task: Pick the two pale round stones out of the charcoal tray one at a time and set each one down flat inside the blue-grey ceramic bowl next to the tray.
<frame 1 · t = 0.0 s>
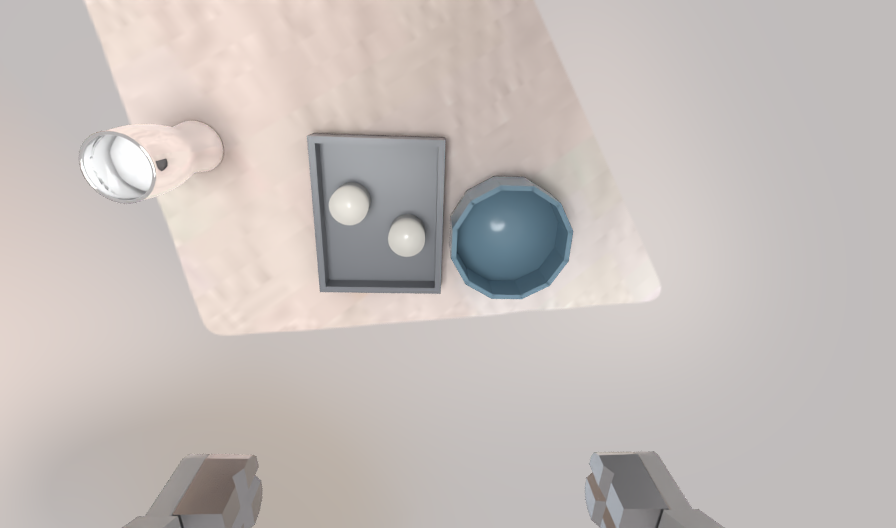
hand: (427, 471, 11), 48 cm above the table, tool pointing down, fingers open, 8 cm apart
stone b: (407, 231, 58), point 1 cm above the table, touching tray
tray: (381, 214, 57), on the table
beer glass: (198, 146, 54), on the table
stone a: (352, 200, 56), point 1 cm above the table, touching tray
bowl: (504, 231, 59), on the table
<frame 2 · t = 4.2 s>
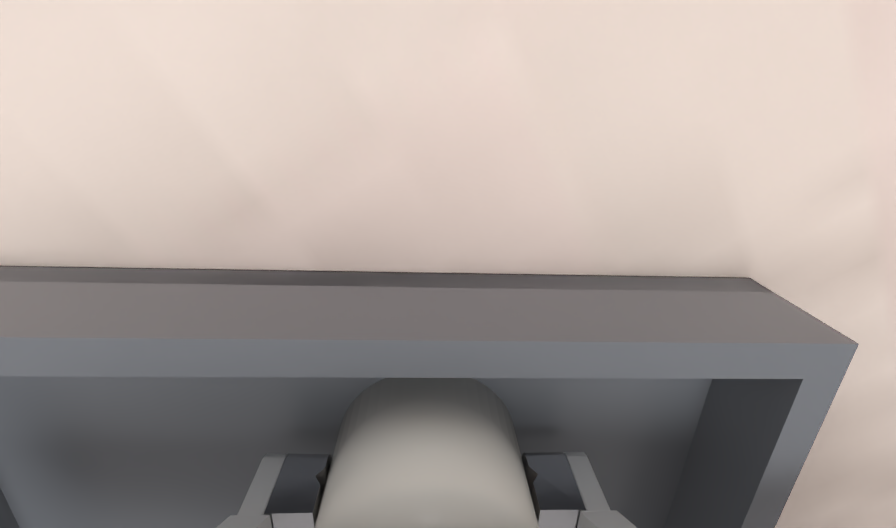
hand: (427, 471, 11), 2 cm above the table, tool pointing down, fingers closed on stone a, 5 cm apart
tray: (360, 509, 13), on the table
stone a: (427, 441, 12), point 1 cm above the table, touching gripper, tray
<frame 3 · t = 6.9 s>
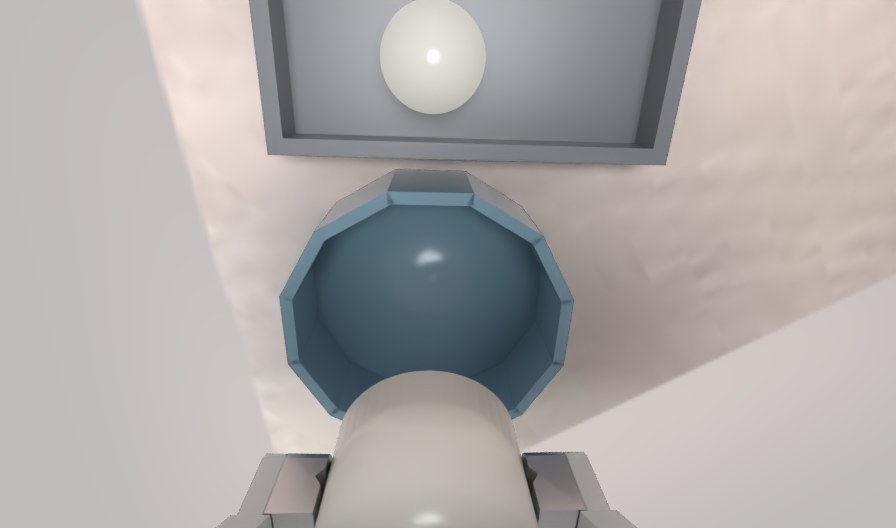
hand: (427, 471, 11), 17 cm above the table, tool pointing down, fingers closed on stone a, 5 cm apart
stone b: (432, 61, 22), point 1 cm above the table, touching tray
stone a: (427, 443, 12), point 16 cm above the table, touching gripper
bowl: (428, 287, 28), on the table
when the fingers open (4 cm above the table, at t = 9.9 s): stone a drops 2 cm, resting on bowl.
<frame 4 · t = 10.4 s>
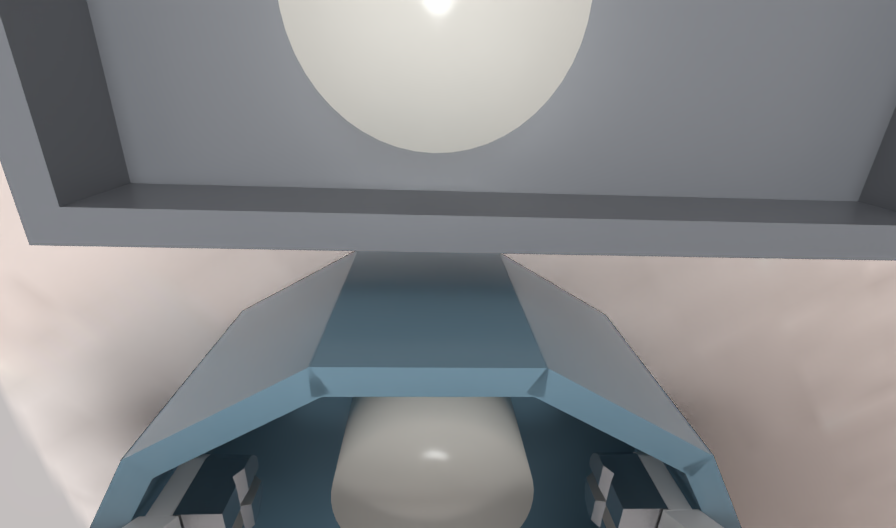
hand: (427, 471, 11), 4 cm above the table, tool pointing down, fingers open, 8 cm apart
stone b: (434, 22, 9), point 1 cm above the table, touching tray
stone a: (431, 400, 13), point 1 cm above the table, touching bowl
bowl: (425, 450, 15), on the table
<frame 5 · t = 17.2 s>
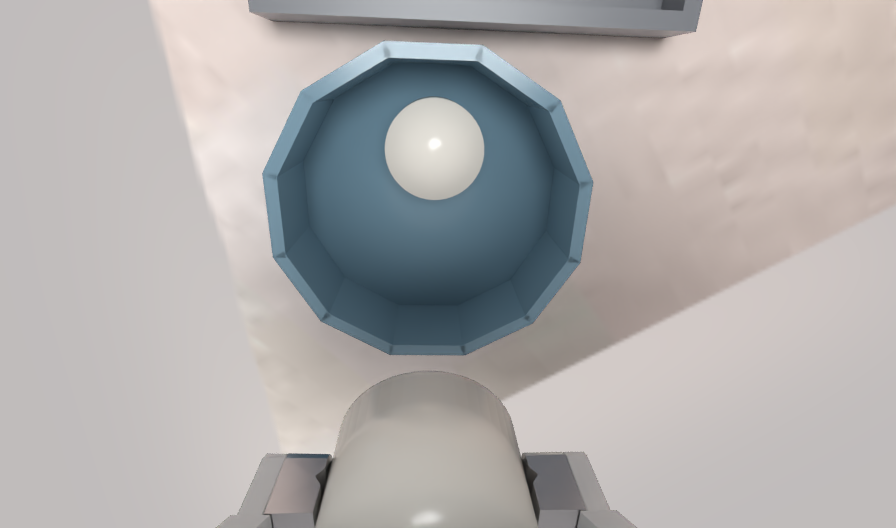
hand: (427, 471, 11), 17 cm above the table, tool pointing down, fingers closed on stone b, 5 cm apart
stone b: (427, 443, 12), point 16 cm above the table, touching gripper
stone a: (433, 142, 23), point 1 cm above the table, touching bowl
bowl: (429, 193, 25), on the table
when the fingers open (4 cm above the table, at t = 20.1 s): stone b drops 2 cm, resting on bowl.
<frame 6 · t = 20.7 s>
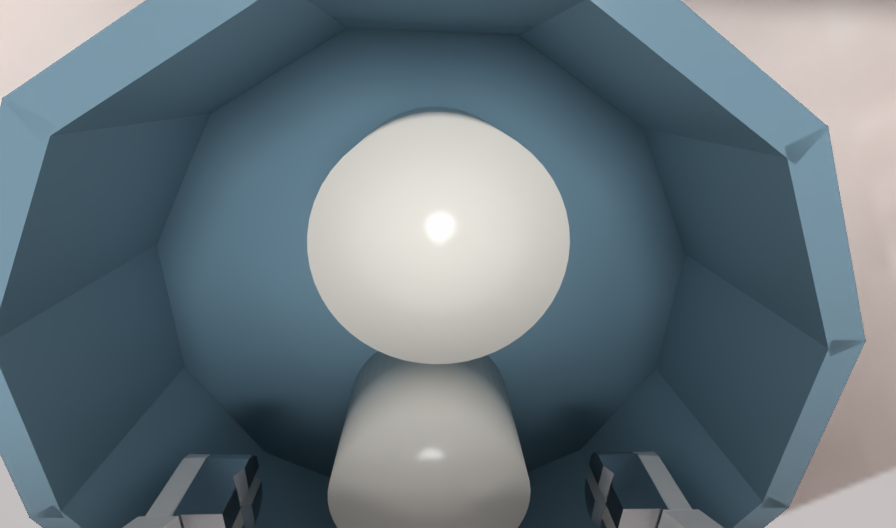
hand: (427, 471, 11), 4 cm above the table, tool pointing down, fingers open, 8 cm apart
stone b: (429, 400, 13), point 1 cm above the table, touching bowl
stone a: (436, 205, 11), point 1 cm above the table, touching bowl
bowl: (428, 295, 13), on the table
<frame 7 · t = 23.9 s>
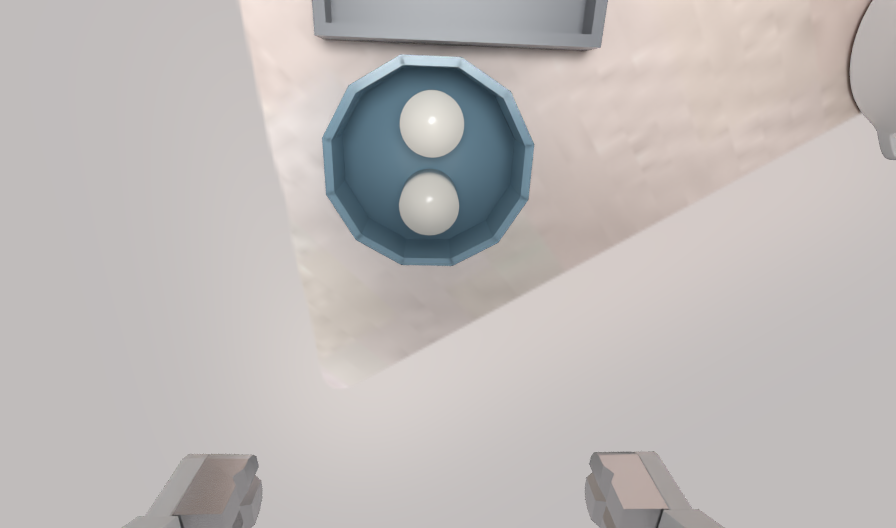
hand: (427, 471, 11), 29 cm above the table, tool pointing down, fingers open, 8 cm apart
stone b: (429, 196, 37), point 1 cm above the table, touching bowl
stone a: (431, 121, 34), point 1 cm above the table, touching bowl
bowl: (428, 157, 36), on the table
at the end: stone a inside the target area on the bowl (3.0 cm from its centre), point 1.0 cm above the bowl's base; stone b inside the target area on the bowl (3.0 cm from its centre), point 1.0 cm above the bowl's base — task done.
